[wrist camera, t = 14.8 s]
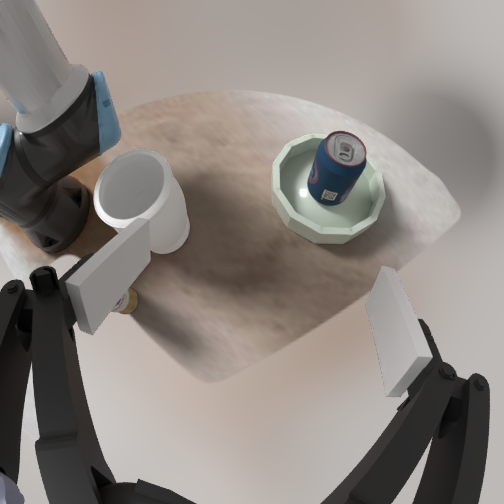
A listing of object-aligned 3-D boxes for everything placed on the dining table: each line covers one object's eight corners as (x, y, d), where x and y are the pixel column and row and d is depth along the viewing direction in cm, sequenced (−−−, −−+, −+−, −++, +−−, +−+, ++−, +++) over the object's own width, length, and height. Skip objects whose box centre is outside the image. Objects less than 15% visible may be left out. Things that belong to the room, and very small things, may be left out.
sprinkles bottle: (136, 316, 41) (91, 308, 28) (111, 311, 41) (62, 300, 28) (141, 288, 42) (98, 269, 29) (116, 283, 42) (70, 263, 29)
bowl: (250, 208, 45) (250, 195, 41) (301, 134, 49) (304, 118, 45) (350, 264, 43) (360, 257, 38) (386, 181, 47) (396, 168, 42)
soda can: (310, 167, 46) (324, 121, 35) (348, 179, 46) (372, 136, 34) (301, 202, 44) (315, 160, 33) (343, 214, 44) (368, 176, 32)
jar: (203, 250, 43) (179, 210, 29) (142, 268, 43) (95, 239, 28) (189, 191, 46) (165, 136, 32) (132, 210, 46) (92, 164, 31)
